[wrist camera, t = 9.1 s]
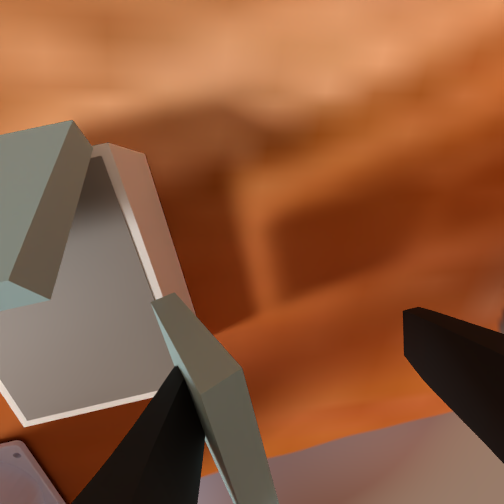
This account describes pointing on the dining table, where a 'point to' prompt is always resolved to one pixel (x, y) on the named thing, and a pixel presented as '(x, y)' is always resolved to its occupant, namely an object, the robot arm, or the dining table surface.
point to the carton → (97, 302)
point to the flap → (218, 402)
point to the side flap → (37, 207)
